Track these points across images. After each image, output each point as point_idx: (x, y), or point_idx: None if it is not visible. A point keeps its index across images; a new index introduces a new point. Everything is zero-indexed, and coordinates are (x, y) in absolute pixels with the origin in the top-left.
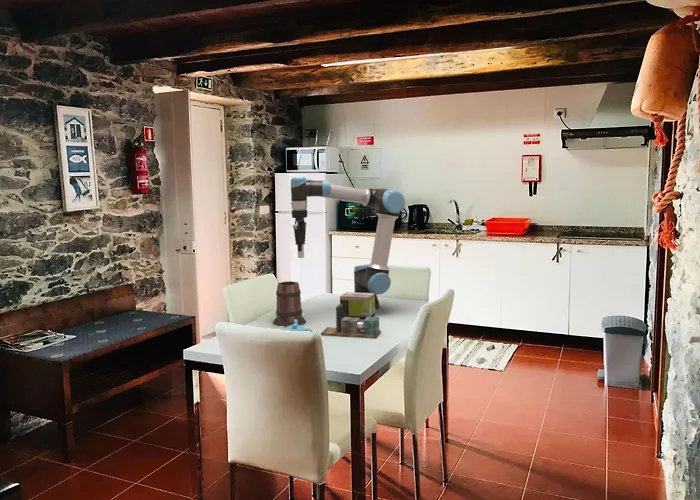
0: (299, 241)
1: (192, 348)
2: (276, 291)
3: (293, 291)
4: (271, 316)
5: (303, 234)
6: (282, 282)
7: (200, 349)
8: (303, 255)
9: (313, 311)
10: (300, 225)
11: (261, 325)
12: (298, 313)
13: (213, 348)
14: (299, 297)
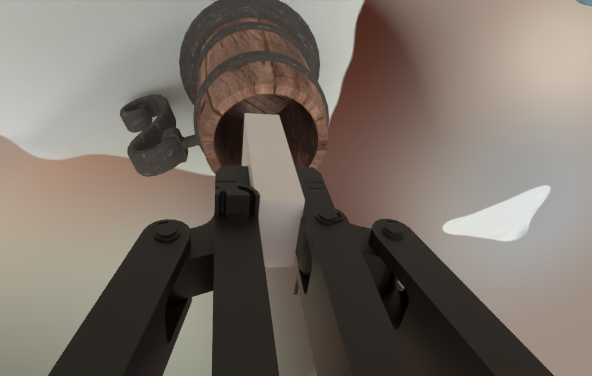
0: (426, 257)
1: (501, 240)
2: None
3: (312, 85)
4: None
5: (237, 346)
6: None
7: (514, 222)
8: (265, 124)
9: (35, 3)
10: None
11: None
12: (284, 31)
13: (513, 198)
14: (268, 48)
